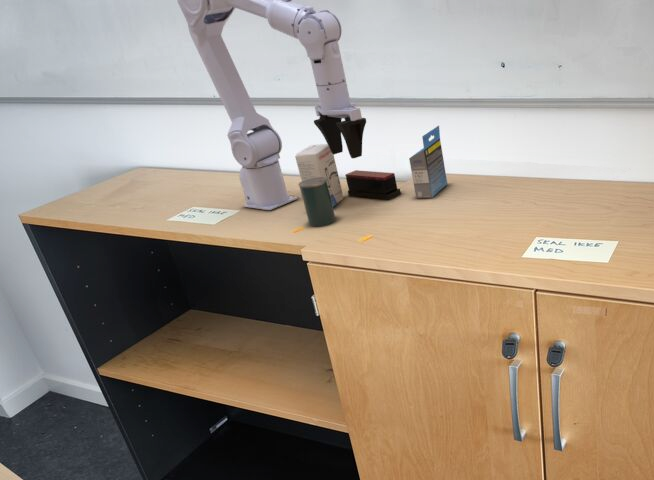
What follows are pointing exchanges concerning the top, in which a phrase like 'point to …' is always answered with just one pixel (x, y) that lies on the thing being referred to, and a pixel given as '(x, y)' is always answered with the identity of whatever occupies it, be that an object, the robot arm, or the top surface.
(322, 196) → the pen tin
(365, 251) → the top surface
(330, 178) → the ink box
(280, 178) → the robot arm
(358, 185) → the black and red block
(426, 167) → the blue grey hanging carton
